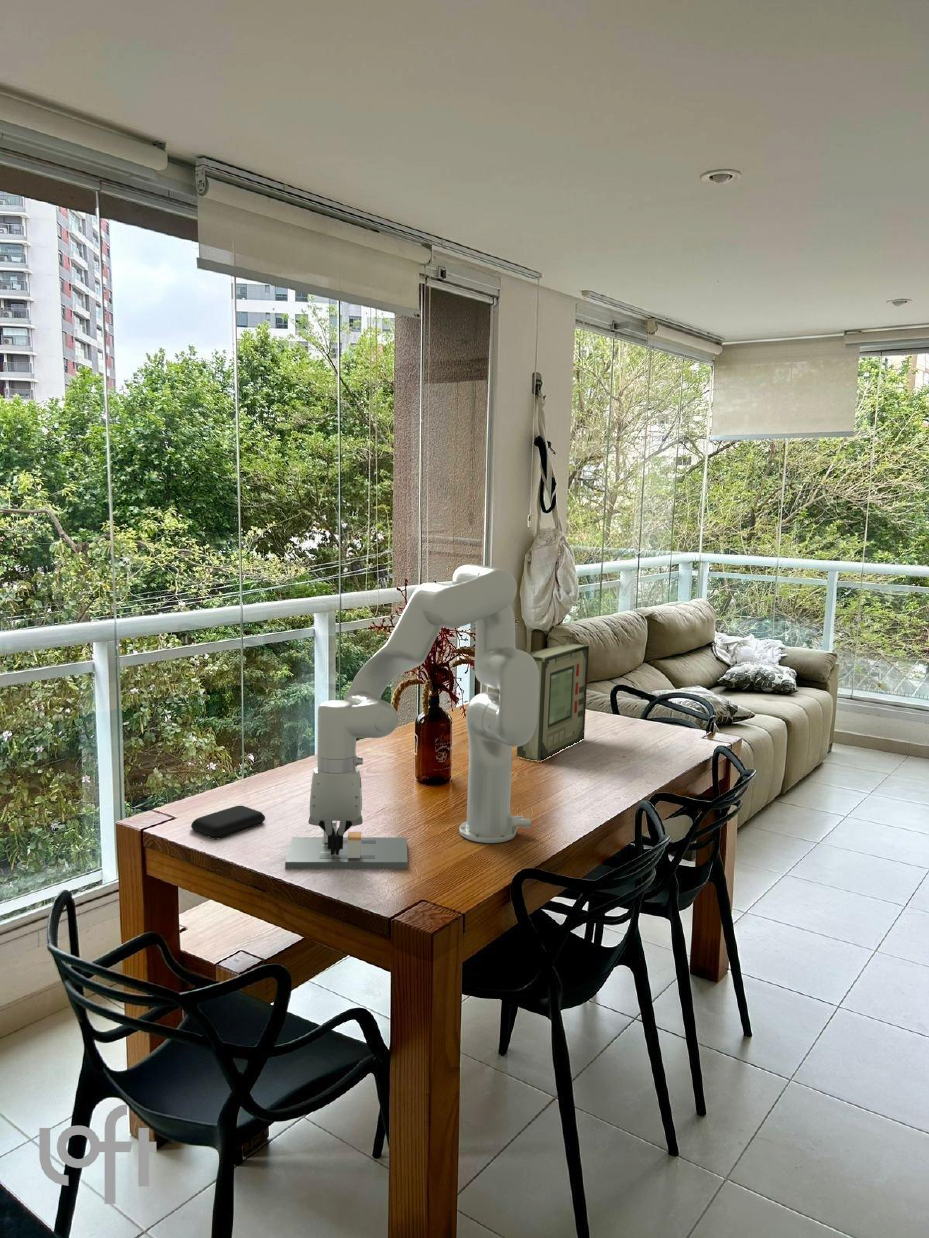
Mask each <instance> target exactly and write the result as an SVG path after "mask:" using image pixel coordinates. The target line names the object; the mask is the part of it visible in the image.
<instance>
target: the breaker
mask: <svg viewBox="0 0 929 1238" xmlns="http://www.w3.org/2000/svg"><path fill="white" fill-rule="evenodd" d="M332 823H333V828H334V830H335V832H337V829H338V821H332ZM323 837H324V843H328V835H327V834H326V832H325V831H324V830H323Z"/></svg>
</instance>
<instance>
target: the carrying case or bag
mask: <svg viewBox="0 0 929 1238" xmlns="http://www.w3.org/2000/svg"><path fill="white" fill-rule="evenodd" d="M264 821H266V816H265V815H264V814H263V812H261V811H259V810H256V809H253V808H250V807H248V806H245V805H235V806H231V807H228V808H225V809H223V810H219V811H217V812H216V811H215V812H213V813H210V814H207V815H203V816H200V817H197V818H196V819H194V820H193V821H192V822H191V823H190V824H191V825H190V826H191V829H192V830H193V831H194V832H195V833H197V834H200V835H202V836H205V837H208V838H211V839H212V838H214V839H213V840H218V839H217V838H220V839H222V838H226V837H229V836H231V835H232V836H233V835H235V834H238V833H241V832H243V831H247V830H249V829H252V828H256V827H258V826H260V825H262V824H263V823H264Z"/></svg>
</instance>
